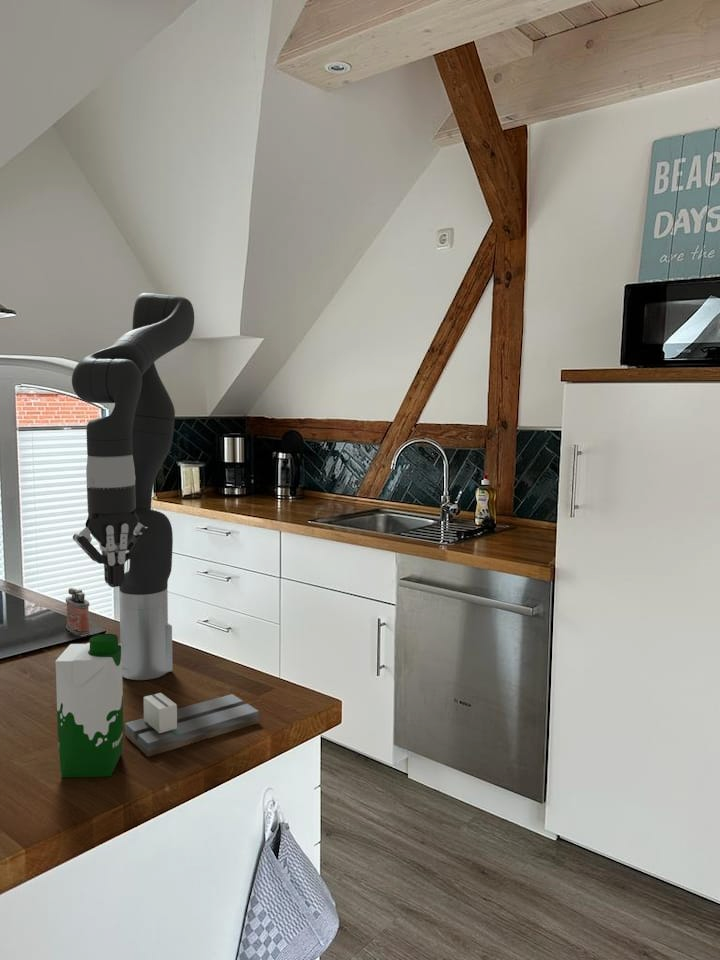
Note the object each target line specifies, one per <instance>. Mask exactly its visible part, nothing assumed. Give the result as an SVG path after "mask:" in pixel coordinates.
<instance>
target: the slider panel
mask: <svg viewBox="0 0 720 960" xmlns="http://www.w3.org/2000/svg"><path fill="white" fill-rule="evenodd" d="M259 712H260V711H259V710H258V709H257V708H255V707H253V706H252V705H250V704H249V703H244V700H242V699H241V698H240V697H237V696H236V695H235V694H233V693H231V694H227V695H224V696H220V697H217V698H212V699H209V700H204V701H201V702H197V703H194V704H191V705H186V706H184V707H183V706H182V707H180V708H179V707H178V708H177V729H173V730H170V731H166V732H163V733H158V732H157V731H156V730H155V729H154V728H152V727H151V726H150V725H149V724H148V723H147V722H145V721H144V717H142V718H138V719H134V720H131V721H128V722H125V723H124V728H125V729H124V730H125V731H124V732H125V733H124V734H125V737H126V738H127V739H128V740H129V739H130V742H132V743H133V744H134V745H135V746H136V747H137V748H138V749H139V750H140V751H141V752H142V753H143V754H144V755H145V756H146V757H148V758H149V757H152V756H155V755H159V754H162V753H165V752H168V751H172V750H176V749H178V748H182V747H184V746H189V745H191V743H192V744H194V742H195V743H197V742H200V741H201V740H202V741H204V739H205V740H208V739H211V738H214V737H218V736H221V735H224V734H228V733H231V732H234V731H237V730H241V729H244V728H247V727H250V726H253V725H256V724H260V723H259V722H260V721H259V716H260V715H259ZM207 738H208V739H207Z"/></svg>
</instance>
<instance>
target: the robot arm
mask: <svg viewBox="0 0 720 960" xmlns="http://www.w3.org/2000/svg"><path fill="white" fill-rule="evenodd" d="M134 302H135V303H134V306H133V315H132V330H130V331H129V330H128V331H127V332H125V333H124V334H123V335H121V336H120V337H119V338H117V339H116V340H115V341H114V343H112V344H111V345H110V346H109V347H106V348H104V349H100V350H98V351H96V352H94V353H91V354H89V355H87V356H86V357H83V358H82V359H81V360H80V361H79V362H78V363H77V364H76V365H75V367H74V369H73V372H72V374H71V385H72V389H73V391H74V393H75V395H76V396H77V397H78V398H79V399H81V400H82V401H84V402H86V403H90V404H91V403H92V404H114V407H113V409H112V411H111V413H110V414H109V415H108V416H102V417H99V418H93V419H91V420H90V421H88V423H87V424H86V457H87V458H86V459H87V460H86V469H85V470H86V471H85V472H86V475H85V477H86V496H87V497H86V498H87V501H86V502H87V518H86V519H87V520H86V522H85V527H84V528H83V529H82V530H81V531H80V532H79V533H74V534H73V535H72V540H73V541H74V542H75V543H76V544H77V545H78V546H79V547H80V548H81V550H83V552H85V554H86V555H87V556H88V557H89V558H90V559H91V560H92V561H93V562H96V563H98V564H99V565H102V564H103V571H104V573H103V574H104V576H103V577H104V581H105V584H108V586H109V587H111V588H116V587H118V589H119V591H118V592H119V635H120V636H119V638H120V639H119V640H120V641H119V643H122V678H124V679H127V680H132V681H145V680H146V681H147V680H154V679H157V678H160V677H162V676H165V675H166V674H168V673H170V672H173V626H172V625H171V624H170V623H169V614H168V613H169V610H168V609H169V608H168V607H169V604H168V597H169V596H168V583H169V579H170V575H171V572H172V565H173V546H174V545H173V543H174V541H173V540H174V537H173V528H172V524H171V520H170V519H169V517H167V515H166V514H164V513H163V512H161V511H158V510H154V509H152V499H153V498H152V497H153V489H154V484H155V481H156V477H157V475H159V474H158V473H159V472H160V469H161V467H162V466H163V464H164V462H165V460H166V458H167V457H168V455H169V453H170V450H171V448H172V444H173V438H174V431H175V430H174V429H175V418H176V417H175V416H176V410H175V407H174V403H173V401H172V399H171V397H170V394H169V392H168V391H167V389H166V387H165V385H164V383H163V381H162V380H161V377H160V375H159V373H158V371H157V367H156V365H155V362H156V361H157V360H158V359H160V358H162V357H163V356H165V355H166V354H168V353H170V352H172V351H173V350H175V349H176V348H177V347H180V346H181V345H183V344H185V343H186V342H187V341H188V340H189V339H190V337H191V335H192V333H193V331H194V326H195V311H194V306H193V304H192V302H191V301H190V300H189V299H188V298H186V297H184V296H178V295H172V294H171V295H170V294H161V293H152V292H150V293H149V292H143V293H141V294H139V295H138V296H137V298H136V299H135V301H134ZM91 535H92V536H91ZM92 537H93V538H94V539H95V540H96V541H97V543H99V549H100V551H101V553H100V552H99V550H97V548H96V547H95V545H93V544H92V543H91V542H92V540H93V539H92ZM127 561H129V569H128V571H126V572H125V563H126V562H127Z"/></svg>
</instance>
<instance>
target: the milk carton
mask: <svg viewBox="0 0 720 960" xmlns="http://www.w3.org/2000/svg"><path fill="white" fill-rule="evenodd" d="M54 662H55V663H54V664H55V678H56V679H55V680H56V682H55V684H56V688H55V689H56V715H57V716H56V719H57V721H56V723H57V744H58V746H57V747H58V753H59V754H58V755H59V765H60V766H59V767H60V773H61V777H60V778H65V779H67V778H101V777H102V778H103V777H104V778H105V777H106V778H109V777H112V775H113V773H114V770H115V768H116V766H117V764H118V762H119V760H120V758H121V755H122V753H123V752H122V751H123V750H122V749H123V738H124V737H123V736H124V695H123V694H124V693H123V687H124V686H123V676H122V643H120V642H119V636H118V635H117V634H113V633H101V634H96V635H95V634H94V635H93V636H91V637H90V638H89V642H86V643H70V644H69V645H68V646H67V647H66V649H65V650H64V651H63V652H62V653H61V654H60V655H59V657H57V658H56V660H55V661H54Z"/></svg>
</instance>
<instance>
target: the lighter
mask: <svg viewBox="0 0 720 960" xmlns="http://www.w3.org/2000/svg"><path fill="white" fill-rule="evenodd" d="M68 595H71V596H67V597H66V598H65V603H66V626H65V627H66V628H67V629H68V630H69V631H70V632H73V633H76V634H79V635H85V634H88V633H90V634H91V630H90V621H89V620H90V619H89V618H90V617H89V616H90V614H89V612H90V611H89V607H90V602H89V601H88V600H86V597H85V596H86V595H85V592H83V590H82V589H76V588H74V587H69V589H68ZM66 628H65V629H66ZM70 632H69V633H70Z"/></svg>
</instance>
